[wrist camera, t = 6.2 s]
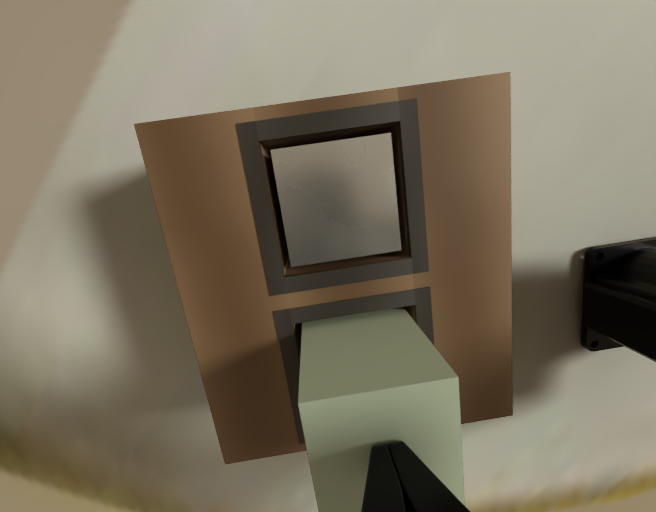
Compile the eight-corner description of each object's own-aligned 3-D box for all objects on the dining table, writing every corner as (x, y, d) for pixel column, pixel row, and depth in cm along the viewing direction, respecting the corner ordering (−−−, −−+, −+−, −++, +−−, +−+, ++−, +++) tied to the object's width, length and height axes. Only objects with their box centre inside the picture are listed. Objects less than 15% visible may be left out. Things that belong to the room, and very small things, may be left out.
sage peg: (394, 295, 13) (458, 376, 7) (402, 376, 14) (464, 503, 8) (302, 310, 13) (297, 404, 7) (316, 390, 14) (322, 528, 8)
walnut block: (434, 115, 16) (511, 71, 10) (448, 343, 18) (513, 416, 13) (201, 148, 15) (132, 123, 9) (252, 375, 18) (224, 465, 12)
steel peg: (361, 152, 16) (390, 132, 10) (369, 229, 17) (401, 250, 11) (284, 163, 16) (270, 149, 10) (297, 240, 16) (291, 267, 11)
